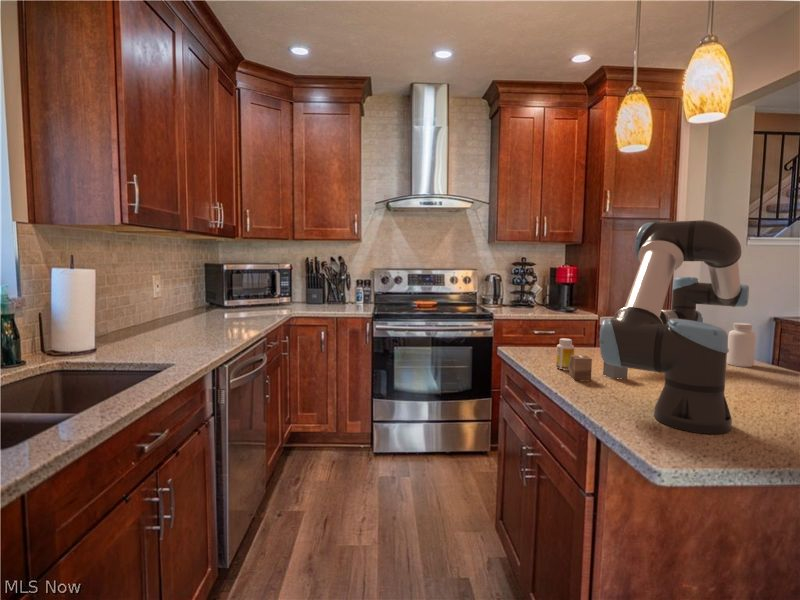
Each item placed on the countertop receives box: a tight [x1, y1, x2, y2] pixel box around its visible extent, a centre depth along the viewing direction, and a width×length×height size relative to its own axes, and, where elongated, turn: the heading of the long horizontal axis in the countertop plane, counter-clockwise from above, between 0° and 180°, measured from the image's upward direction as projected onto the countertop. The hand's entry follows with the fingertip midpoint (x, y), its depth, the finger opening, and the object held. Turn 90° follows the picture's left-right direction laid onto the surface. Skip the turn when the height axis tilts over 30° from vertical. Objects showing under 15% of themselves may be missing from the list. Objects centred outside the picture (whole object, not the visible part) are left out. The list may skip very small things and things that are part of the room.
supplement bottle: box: [555, 337, 575, 371], centre depth 156 cm, size 6×6×10 cm
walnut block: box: [568, 354, 593, 381], centre depth 143 cm, size 5×5×7 cm
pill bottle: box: [726, 322, 757, 368], centre depth 165 cm, size 8×8×15 cm
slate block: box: [602, 361, 629, 380], centre depth 146 cm, size 5×5×7 cm
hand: (601, 321), depth 158 cm, fingers closed
